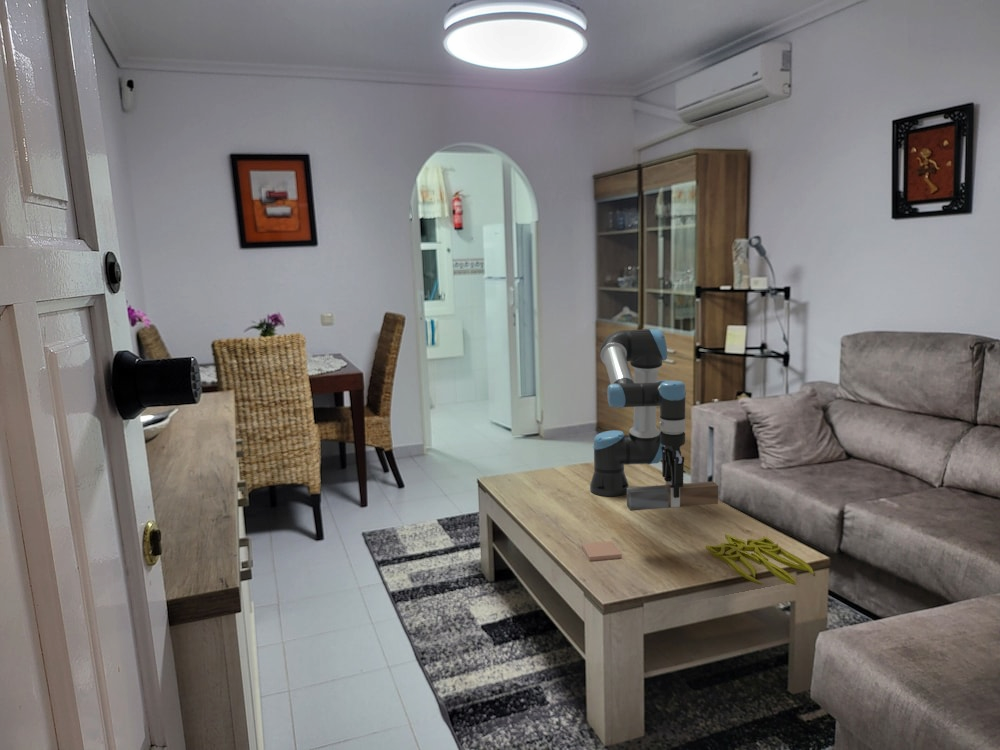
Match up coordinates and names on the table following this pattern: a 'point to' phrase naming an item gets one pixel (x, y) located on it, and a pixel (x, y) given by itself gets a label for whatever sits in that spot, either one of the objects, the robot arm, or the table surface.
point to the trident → (757, 557)
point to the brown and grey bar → (662, 496)
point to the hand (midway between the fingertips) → (672, 503)
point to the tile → (601, 551)
